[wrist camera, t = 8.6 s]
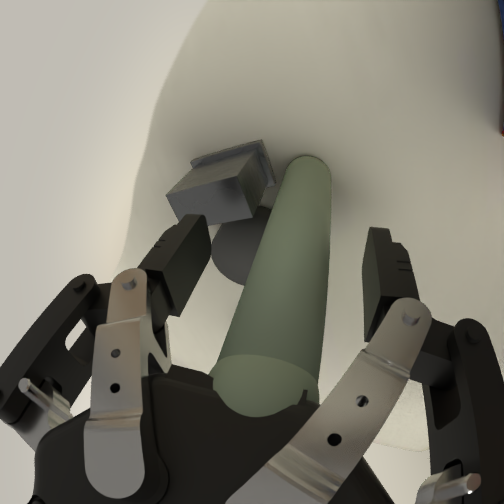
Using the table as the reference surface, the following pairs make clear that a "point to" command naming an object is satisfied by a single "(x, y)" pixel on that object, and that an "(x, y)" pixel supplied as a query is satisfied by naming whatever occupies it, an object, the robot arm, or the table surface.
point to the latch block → (224, 184)
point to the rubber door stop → (239, 245)
